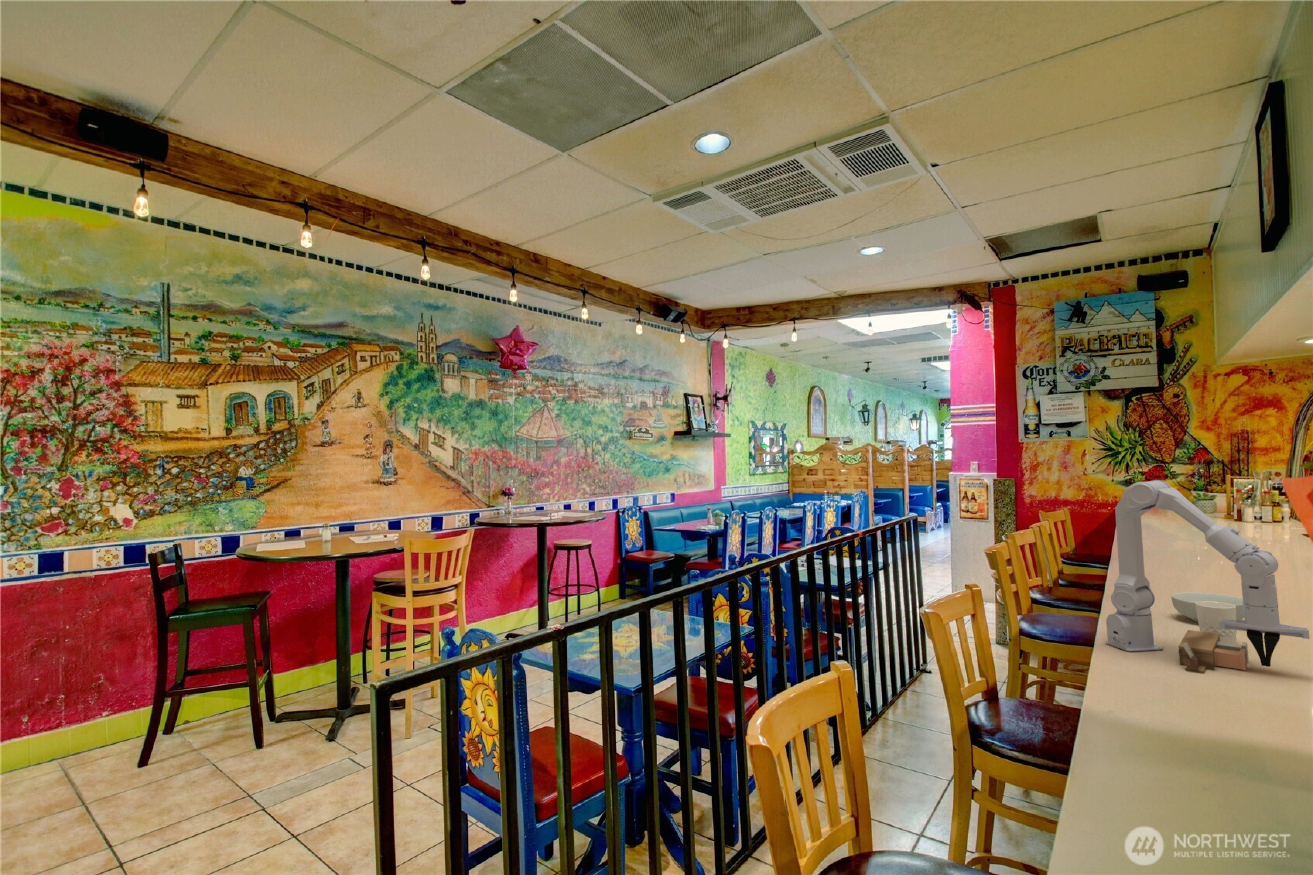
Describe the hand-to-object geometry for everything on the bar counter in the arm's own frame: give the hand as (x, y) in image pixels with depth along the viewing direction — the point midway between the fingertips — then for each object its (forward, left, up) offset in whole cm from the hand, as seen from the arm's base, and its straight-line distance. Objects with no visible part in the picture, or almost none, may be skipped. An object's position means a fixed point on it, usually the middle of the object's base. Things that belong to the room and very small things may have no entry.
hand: (1266, 665), depth 139 cm
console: (-6, +10, -2) cm, 12 cm away
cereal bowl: (+27, +40, -2) cm, 49 cm away
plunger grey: (+1, +10, -2) cm, 10 cm away
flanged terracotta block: (-5, +5, -2) cm, 7 cm away
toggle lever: (-13, +4, +1) cm, 14 cm away
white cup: (+10, +21, -2) cm, 24 cm away
